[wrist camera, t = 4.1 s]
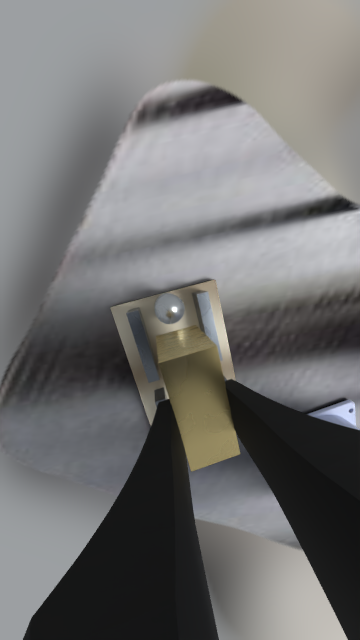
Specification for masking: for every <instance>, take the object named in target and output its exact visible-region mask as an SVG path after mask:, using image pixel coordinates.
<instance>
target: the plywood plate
mask: <svg viewBox="0 0 360 640" xmlns="http://www.w3.org/2000/svg"><path fill="white" fill-rule="evenodd" d="M201 290H203V291H208V294H209V299H210V303H211V308H212V313H213V317H214V322H215V327H216V331H217V336H218V341H219V345H220V350H221V355H222V359H223V360H222V361H220V362H221V366H222V371H223V375H224V376H225V378H226V379H227V380H229V379H233V380H235V381H236V379H235V374H234V369H233V364H232V359H231V354H230V349H229V344H228V339H227V334H226V329H225V324H224V320H223V315H222V310H221V305H220V300H219V295H218V290H217V285H216V280H210V281H206V282H203V283H199V284H195V285H191V286H188V287H184V288H180V289H176V290H172V291H169V292H165V293H172V294H174V295H176V296H177V297H179V298H180V299H181V300H182V302H183V304H184V307H185V311H184V315H183V317H182V318H181V319H180V320H179V321H178V322H176V323H174V324H165V323H163V322H161V321H160V320H159V319H158V318H157V316H156V314H155V309H154V304H155V301H156V299H157V298H158V297H159V296H160V295H161V294H164V293H161V294H157V295H154V296H150V297H146V298H142V299H139V300H135V301H131V302H127V303H124V304H120V305H116V306H112V307H111V311H112V314H113V317H114V320H115V323H116V326H117V329H118V332H119V335H120V338H121V341H122V344H123V346H124V349H125V352H126V355H127V358H128V361H129V364H130V367H131V370H132V373H133V376H134V379H135V382H136V385H137V387H138V390H139V393H140V396H141V399H142V402H143V405H144V408H145V411H146V414H147V417H148V420H149V423H150V426H151V425H152V422H153V419H154V416H155V413H156V409H157V407H156V404H155V392H154V390H156V389H159V388H163V387H164V389H165V392H166V395H167V399H169V396H168V393H167V390H166V386H165V383H164V380H163V376H162V373H161V370H160V366H159V363H158V353H157V343H156V336H158V335H161V334H165V333H168V332H172V331H175V330H179V329H182V328H186V327H189V326H193V325H196V326H197V327H198V328H199V329H200V326H199V322H198V318H197V313H196V309H195V305H194V301H193V296H192V293H193V292H197V291H201ZM138 307H140V310H141V313H142V317H143V320H144V323H145V326H146V330H147V333H148V336H149V340H150V343H151V346H152V349H153V353H154V356H155V359H156V363H157V366H158V369H159V379H160V380H157V381H154V382H151V383H148V379H147V376H146V373H145V370H144V367H143V364H142V361H141V358H140V355H139V352H138V349H137V346H136V342H135V339H134V336H133V333H132V330H131V327H130V324H129V321H128V318H127V315H126V313H127V312H128V310H130V309H134V308H138Z"/></svg>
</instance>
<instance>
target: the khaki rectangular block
mask: <svg viewBox="0 0 360 640" xmlns="http://www.w3.org/2000/svg"><path fill="white" fill-rule="evenodd" d="M156 343H157V353H158V363H159V366H160V370H161V373H162V376H163V380H164V383H165V386H166V390H167V393H168V396H169V400H170V403H171V404H172V408H173V411H174V414H175V418H176V421H177V424H178V427H179V431H180V434H181V437H182V441H183V444H184V447H185V452H186V456H187V459H188V463H189V466H190V469H191V472H192V471H195V470H197V469H200V468H203V467H206V466H209V465H211V464H214V463H217V462H220V461H222V460H225V459H228V458H231V457H234V456H236V455H239V454H240V450H239V445H238V441H237V436H236V431H235V429H234V424H233V419H232V415H231V410H230V406H229V401H228V396H227V392H226V385H225V380H224V376H223V371H222V366H221V362H220V357H219V353H218V348H217V345H216V344H215V343H214V342H213V341H212V340H211V339H210V338H209V337H208V336H207V335H206V334H205V333H204V332H203V331H202V330H201V329H199V328H198V327H197V326H196V325H193V326H189V327H186V328H182V329H179V330H175V331H172V332H168V333H165V334H161V335H158V336H156Z"/></svg>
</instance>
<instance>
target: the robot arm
mask: <svg viewBox="0 0 360 640" xmlns="http://www.w3.org/2000/svg"><path fill="white" fill-rule="evenodd" d="M225 385H226V392H227V396H228V401H229V406H230V410H231V415H232V419H233V424H234V429H235V431H236V433H237V435H238V437H239V439H240V440H241V442H242V443H243V445H244V447H245V448H246V450H247V451H248V453H249V454H250V456H251V458H252V459H253V461H254V462H255V464H256V466H257V467H258V469H259V470H260V472H261V474H262V475H263V477H264V478H265V480H266V481H267V483H268V485H269V487H270V488H271V490H272V492H273V493H274V495H275V497H276V499H277V501H278V503H279V505H280V506H281V508H282V510H283V512H284V514H285V516H286V518H287V520H288V522H289V524H290V525H291V527H292V529H293V531H294V533H295V535H296V537H297V539H298V541H299V543H300V545H301V547H302V549H303V551H304V552H305V554H306V556H307V558H308V560H309V562H310V564H311V566H312V568H313V570H314V572H315V574H316V576H317V578H318V580H319V582H320V584H321V586H322V588H323V590H324V592H325V594H326V596H327V598H328V600H329V602H330V604H331V606H332V608H333V610H334V612H335V614H336V616H337V618H338V620H339V622H340V624H341V626H342V628H343V630H344V633H345V634H346V636H347V638H348V640H360V429H358V428H357V427H356V421H355V403H354V402H352V401H351V400H346V401H343V402H340V403H338V404H335V405H332V406H329V407H326V408H323V409H320V410H318V411H315V412H312V413H309V414H305V413H302V412H299V411H296V410H294V409H291V408H289V407H286V406H284V405H282V404H280V403H277V402H275V401H273V400H271V399H269V398H267V397H265V396H263V395H261V394H259V393H257V392H255V391H253V390H251V389H249V388H247V387H245V386H244V385H242V384H240V383H238V382H237V381H235V380H233V379H229V380H226V381H225ZM23 640H219V638H218V634H217V629H216V624H215V619H214V614H213V609H212V604H211V600H210V595H209V590H208V585H207V580H206V575H205V570H204V565H203V561H202V556H201V550H200V545H199V541H198V536H197V531H196V526H195V519H194V513H193V506H192V498H191V490H190V482H189V474H188V467H187V459H186V452H185V447H184V444H183V441H182V437H181V434H180V431H179V427H178V424H177V421H176V418H175V414H174V411H173V408H172V404H171V403H170V400H169V399H167V400H164V401H161V402H159V403H158V405H157V409H156V413H155V416H154V419H153V422H152V425H151V428H150V431H149V434H148V436H147V439H146V441H145V444H144V446H143V448H142V451H141V453H140V455H139V457H138V460H137V462H136V464H135V466H134V468H133V470H132V472H131V474H130V476H129V478H128V479H127V481H126V483H125V485H124V487H123V488H122V490H121V492H120V494H119V495H118V497H117V499H116V501H115V502H114V504H113V506H112V507H111V509H110V511H109V512H108V514H107V515H106V517H105V518H104V520H103V521H102V523H101V524H100V526H99V528H98V529H97V530H96V532H95V533H94V535H93V536H92V538H91V539H90V541H89V543H88V544H87V545H86V547H85V548H84V549H83V551H82V552H81V554H80V555H79V556H78V558H77V559H76V561H75V562H74V564H73V565H72V566H71V567H70V569H69V570H68V571H67V573H66V574H65V575H64V576H63V578H62V579H61V580H60V582H59V583H58V584H57V586H56V587H55V588H54V590H53V591H52V592H51V593H50V595H49V596H48V597H47V599H46V600H45V601H44V603H43V604H42V605H41V607H40V608H39V609H38V610H37V612H36V613H35V614H34V615H33V617H32V618H31V621H30V623H29V626H28V628H27V631H26V633H25V636H24V638H23Z"/></svg>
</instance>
